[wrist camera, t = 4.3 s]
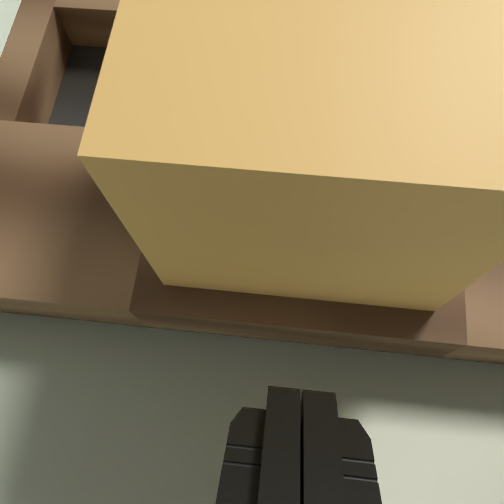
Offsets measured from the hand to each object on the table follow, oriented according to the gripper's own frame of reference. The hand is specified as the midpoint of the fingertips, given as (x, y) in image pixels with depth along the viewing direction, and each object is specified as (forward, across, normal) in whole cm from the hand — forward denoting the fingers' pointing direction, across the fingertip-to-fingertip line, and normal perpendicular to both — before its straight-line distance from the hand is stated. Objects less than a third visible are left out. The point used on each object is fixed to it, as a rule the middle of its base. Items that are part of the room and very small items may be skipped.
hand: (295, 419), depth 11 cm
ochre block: (+9, 0, -3) cm, 9 cm away
